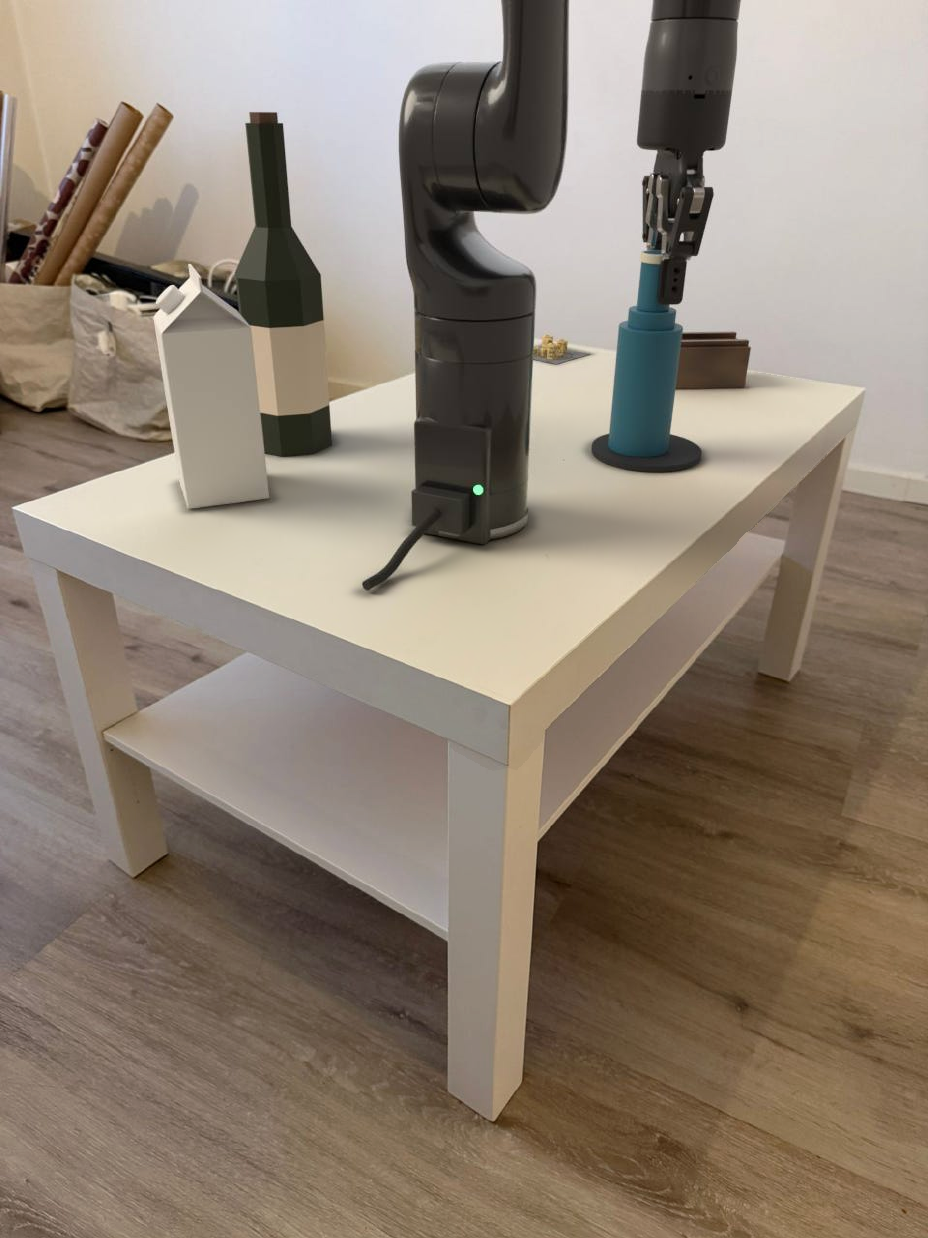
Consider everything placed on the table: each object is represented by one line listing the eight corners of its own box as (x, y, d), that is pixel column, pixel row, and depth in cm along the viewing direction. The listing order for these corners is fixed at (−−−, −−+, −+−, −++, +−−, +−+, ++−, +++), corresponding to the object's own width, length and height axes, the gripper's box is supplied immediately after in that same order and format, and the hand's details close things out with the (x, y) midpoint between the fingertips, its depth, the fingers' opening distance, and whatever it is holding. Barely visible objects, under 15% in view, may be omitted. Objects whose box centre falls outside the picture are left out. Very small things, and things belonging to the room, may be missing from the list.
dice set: (546, 347, 131) (546, 334, 130) (574, 353, 128) (575, 339, 127) (524, 353, 128) (524, 339, 127) (552, 360, 125) (553, 345, 124)
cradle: (725, 373, 120) (732, 329, 117) (744, 387, 114) (752, 342, 111) (651, 374, 119) (656, 330, 116) (667, 389, 113) (672, 343, 110)
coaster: (687, 479, 86) (688, 473, 85) (577, 461, 90) (577, 456, 89) (711, 444, 94) (711, 439, 94) (609, 430, 98) (609, 424, 98)
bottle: (676, 455, 90) (618, 458, 89) (655, 436, 95) (600, 439, 94) (702, 256, 80) (638, 257, 80) (677, 247, 86) (616, 248, 85)
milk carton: (256, 473, 86) (232, 261, 77) (270, 500, 80) (246, 274, 71) (179, 482, 84) (144, 265, 74) (187, 511, 78) (151, 279, 69)
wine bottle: (340, 431, 97) (321, 111, 82) (322, 458, 90) (297, 113, 75) (265, 428, 98) (232, 111, 83) (241, 454, 91) (200, 111, 76)
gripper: (622, 86, 82) (606, 286, 90) (667, 84, 70) (643, 315, 78) (703, 87, 82) (679, 285, 91) (761, 85, 70) (727, 314, 79)
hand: (663, 298), depth 85 cm, fingers closed on bottle, 3 cm apart
